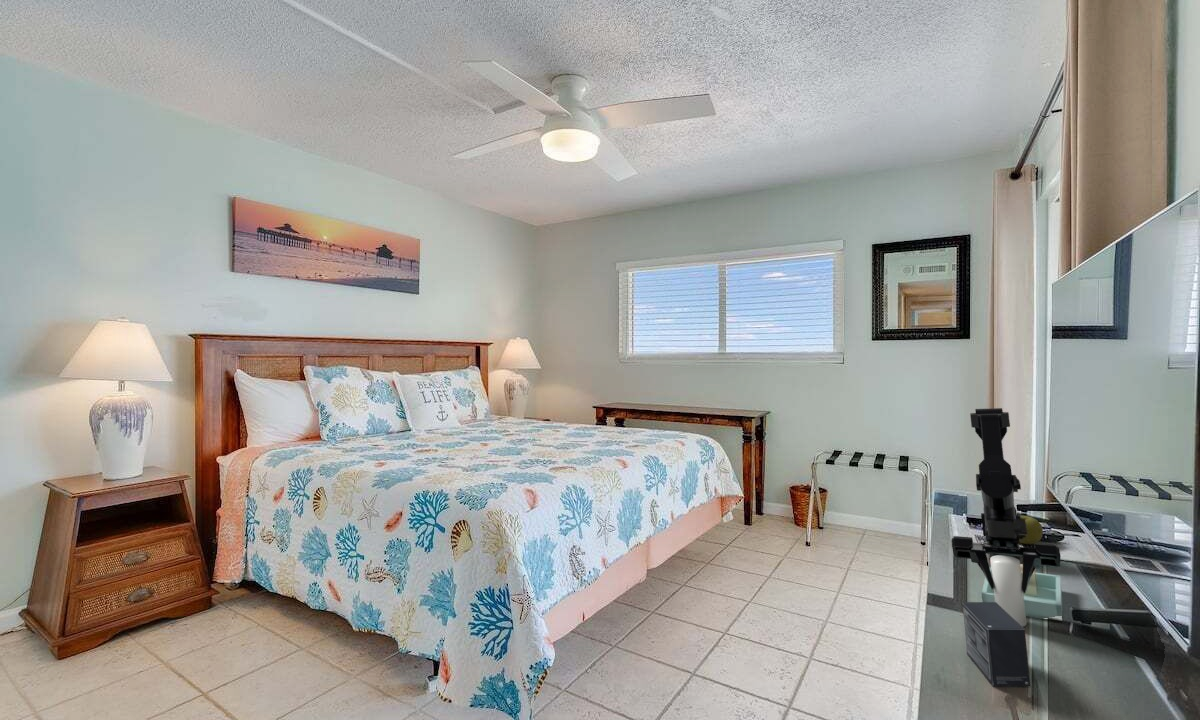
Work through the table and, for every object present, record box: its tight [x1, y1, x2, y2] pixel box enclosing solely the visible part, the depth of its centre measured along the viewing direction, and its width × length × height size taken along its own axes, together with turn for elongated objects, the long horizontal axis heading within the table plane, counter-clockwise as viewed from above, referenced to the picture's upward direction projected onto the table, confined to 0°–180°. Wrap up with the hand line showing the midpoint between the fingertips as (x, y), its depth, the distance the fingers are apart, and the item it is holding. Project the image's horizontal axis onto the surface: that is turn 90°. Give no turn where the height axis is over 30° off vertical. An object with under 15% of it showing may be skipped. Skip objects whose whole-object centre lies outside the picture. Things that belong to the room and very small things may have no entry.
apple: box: [1019, 515, 1044, 545], centre depth 153 cm, size 8×8×7 cm
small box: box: [961, 601, 1031, 688], centre depth 102 cm, size 11×6×10 cm, turn 169°
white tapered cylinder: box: [989, 555, 1027, 628], centre depth 116 cm, size 5×5×13 cm
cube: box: [1020, 563, 1037, 596], centre depth 127 cm, size 5×5×5 cm
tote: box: [981, 566, 1063, 619], centre depth 124 cm, size 16×14×4 cm
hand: (1008, 590), depth 115 cm, fingers closed on white tapered cylinder, 5 cm apart
